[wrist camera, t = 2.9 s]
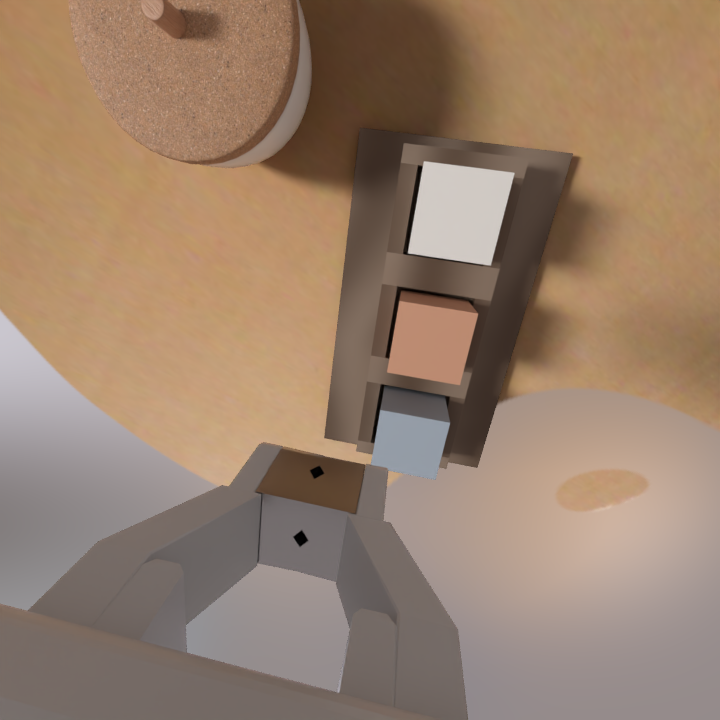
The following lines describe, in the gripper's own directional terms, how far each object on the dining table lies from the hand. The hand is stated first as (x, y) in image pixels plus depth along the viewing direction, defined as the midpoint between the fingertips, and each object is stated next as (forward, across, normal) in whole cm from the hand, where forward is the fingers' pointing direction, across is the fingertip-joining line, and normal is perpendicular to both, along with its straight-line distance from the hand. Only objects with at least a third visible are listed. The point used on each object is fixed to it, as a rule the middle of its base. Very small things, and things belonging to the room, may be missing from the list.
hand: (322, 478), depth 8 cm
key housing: (+20, -3, 0) cm, 20 cm away
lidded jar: (+20, +11, -12) cm, 26 cm away
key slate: (+17, -3, +7) cm, 19 cm away
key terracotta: (+17, -3, 0) cm, 18 cm away
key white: (+17, -3, -7) cm, 19 cm away
